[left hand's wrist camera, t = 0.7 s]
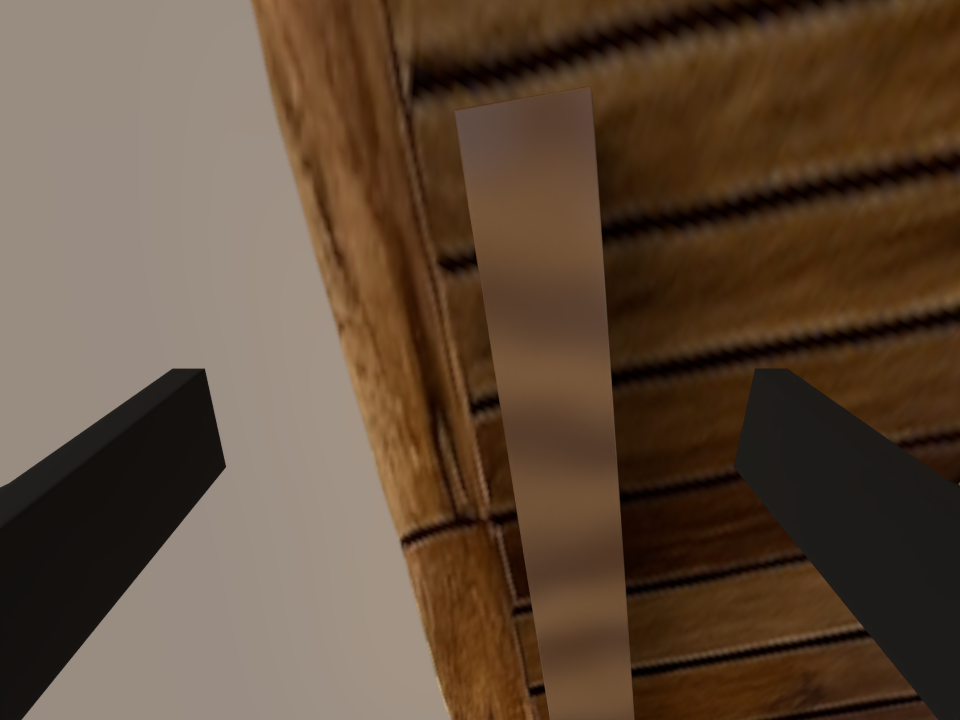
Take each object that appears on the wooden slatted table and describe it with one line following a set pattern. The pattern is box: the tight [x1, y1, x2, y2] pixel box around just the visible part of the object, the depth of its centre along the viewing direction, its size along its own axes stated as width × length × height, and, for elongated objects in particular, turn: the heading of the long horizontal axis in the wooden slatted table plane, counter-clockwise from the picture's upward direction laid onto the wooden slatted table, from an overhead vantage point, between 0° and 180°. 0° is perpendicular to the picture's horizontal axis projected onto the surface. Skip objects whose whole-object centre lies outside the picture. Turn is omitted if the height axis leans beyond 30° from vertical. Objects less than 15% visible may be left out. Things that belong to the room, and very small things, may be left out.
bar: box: [454, 86, 634, 720], centre depth 34 cm, size 69×5×8 cm, turn 9°
